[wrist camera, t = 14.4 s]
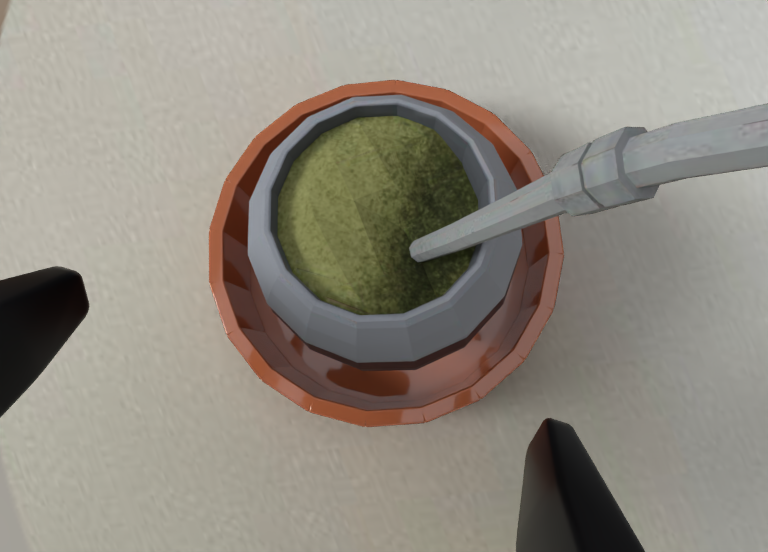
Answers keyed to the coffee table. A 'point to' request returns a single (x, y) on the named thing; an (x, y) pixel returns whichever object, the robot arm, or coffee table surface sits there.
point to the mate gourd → (438, 218)
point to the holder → (380, 388)
